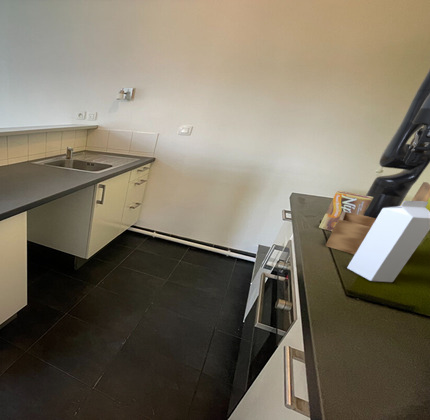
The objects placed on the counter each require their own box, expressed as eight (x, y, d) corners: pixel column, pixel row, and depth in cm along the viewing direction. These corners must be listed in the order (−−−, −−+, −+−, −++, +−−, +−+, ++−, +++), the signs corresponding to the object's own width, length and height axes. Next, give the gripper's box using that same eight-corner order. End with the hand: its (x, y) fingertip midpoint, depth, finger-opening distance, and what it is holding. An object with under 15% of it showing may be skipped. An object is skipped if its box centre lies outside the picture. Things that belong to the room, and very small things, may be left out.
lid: (429, 189, 66) (466, 194, 62) (423, 181, 74) (455, 186, 70) (401, 233, 71) (433, 240, 67) (398, 221, 79) (426, 227, 75)
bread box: (325, 246, 83) (339, 219, 79) (329, 234, 92) (342, 210, 88) (383, 263, 74) (402, 235, 70) (382, 249, 83) (399, 223, 79)
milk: (346, 268, 71) (388, 196, 63) (367, 269, 71) (411, 197, 63) (371, 281, 65) (420, 204, 57) (393, 282, 65) (446, 205, 57)
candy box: (352, 234, 93) (374, 196, 87) (350, 237, 91) (372, 198, 85) (320, 225, 100) (338, 190, 94) (317, 227, 97) (336, 191, 92)
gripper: (473, 107, 63) (433, 168, 69) (461, 108, 71) (426, 163, 78) (423, 106, 68) (390, 163, 75) (418, 107, 77) (388, 159, 83)
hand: (409, 163), depth 76 cm, fingers open, 8 cm apart
